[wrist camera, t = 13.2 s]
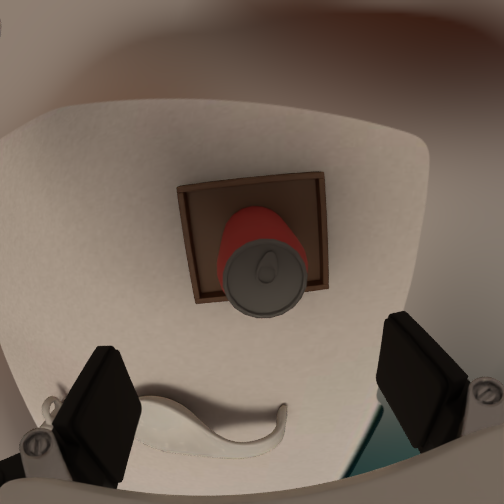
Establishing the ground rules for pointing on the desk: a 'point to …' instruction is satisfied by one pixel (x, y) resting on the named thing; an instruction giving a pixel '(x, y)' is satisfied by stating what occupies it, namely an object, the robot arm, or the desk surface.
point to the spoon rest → (196, 432)
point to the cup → (46, 413)
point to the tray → (242, 196)
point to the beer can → (261, 263)
